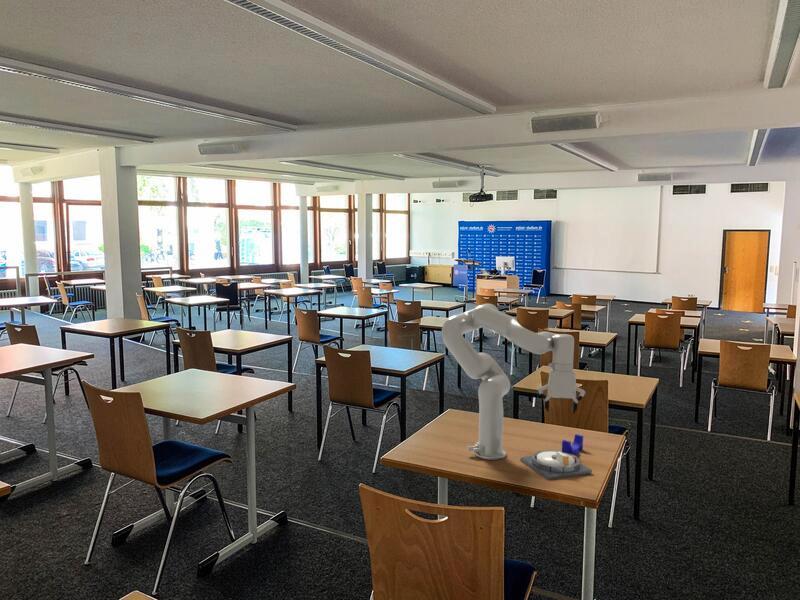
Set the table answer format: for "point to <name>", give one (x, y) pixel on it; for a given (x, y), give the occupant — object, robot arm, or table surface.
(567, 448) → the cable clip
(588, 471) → the panel
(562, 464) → the dial
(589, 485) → the table surface
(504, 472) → the table surface
